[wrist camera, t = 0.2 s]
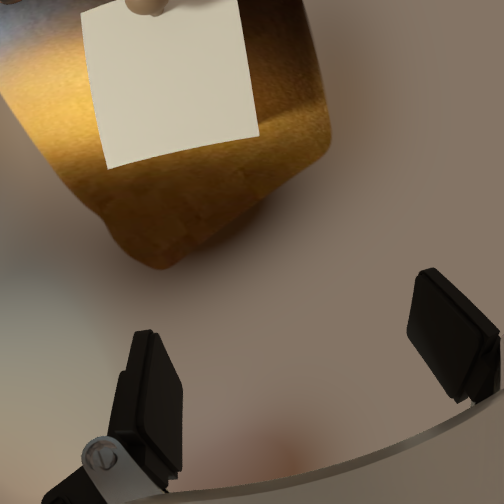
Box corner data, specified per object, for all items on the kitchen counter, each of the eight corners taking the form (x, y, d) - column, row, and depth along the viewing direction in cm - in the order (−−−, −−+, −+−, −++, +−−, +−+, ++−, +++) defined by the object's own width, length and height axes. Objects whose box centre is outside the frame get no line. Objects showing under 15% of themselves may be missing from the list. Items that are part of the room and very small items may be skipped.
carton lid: (83, 15, 20) (53, -3, 13) (231, -22, 20) (238, -53, 14) (110, 167, 27) (84, 185, 21) (258, 135, 28) (272, 144, 22)
